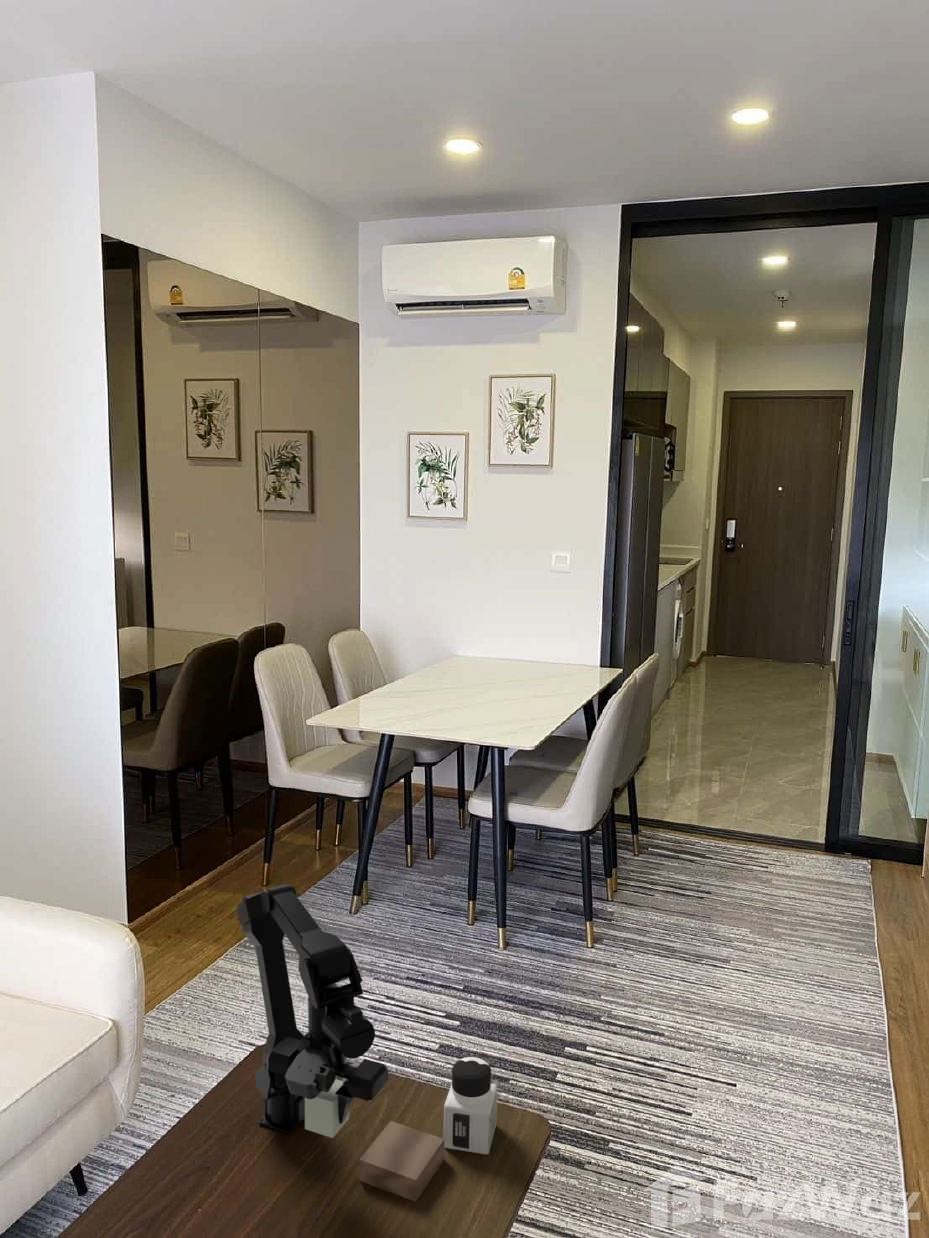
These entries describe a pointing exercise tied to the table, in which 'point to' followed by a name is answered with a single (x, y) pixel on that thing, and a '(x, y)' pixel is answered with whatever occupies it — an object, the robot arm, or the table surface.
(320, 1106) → the sage block
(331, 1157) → the table surface
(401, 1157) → the walnut box
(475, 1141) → the container
